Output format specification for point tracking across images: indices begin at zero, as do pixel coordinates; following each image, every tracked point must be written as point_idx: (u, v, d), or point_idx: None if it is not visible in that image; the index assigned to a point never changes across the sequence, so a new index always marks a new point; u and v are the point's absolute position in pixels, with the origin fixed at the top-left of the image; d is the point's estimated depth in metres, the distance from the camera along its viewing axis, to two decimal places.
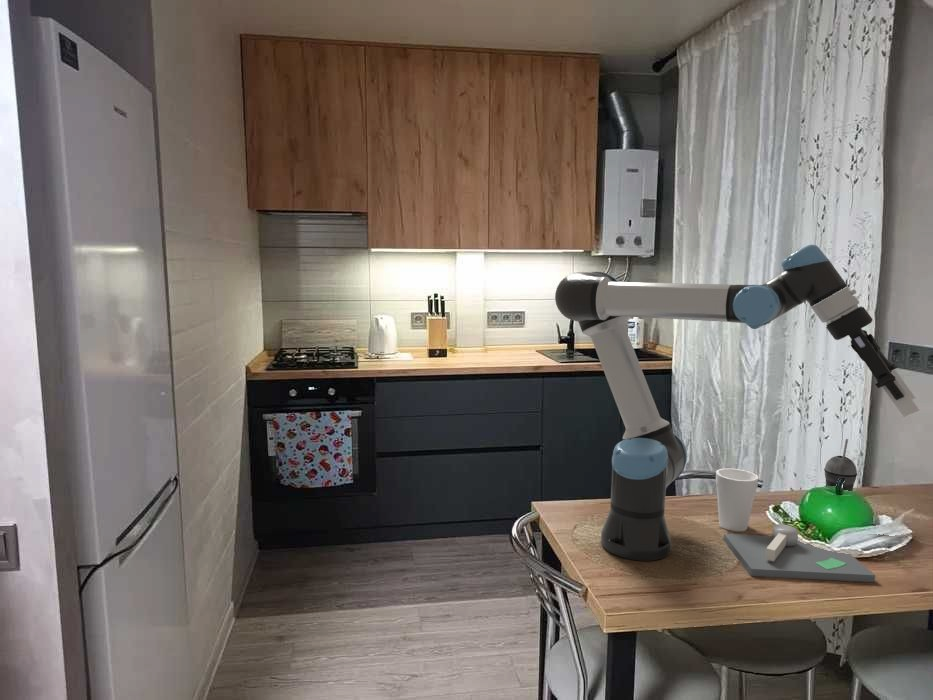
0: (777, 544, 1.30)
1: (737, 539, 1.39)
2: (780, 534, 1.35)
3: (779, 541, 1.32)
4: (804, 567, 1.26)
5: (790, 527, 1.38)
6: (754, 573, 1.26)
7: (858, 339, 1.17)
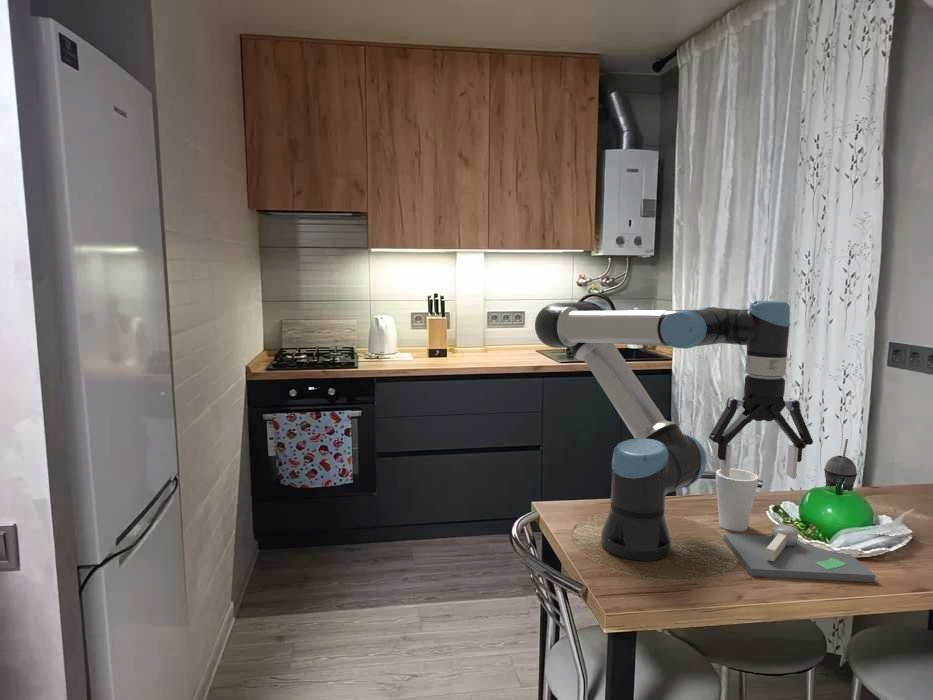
0: (777, 544, 1.30)
1: (737, 539, 1.39)
2: (780, 534, 1.35)
3: (779, 541, 1.32)
4: (804, 567, 1.26)
5: (790, 527, 1.38)
6: (754, 573, 1.26)
7: (729, 400, 1.28)
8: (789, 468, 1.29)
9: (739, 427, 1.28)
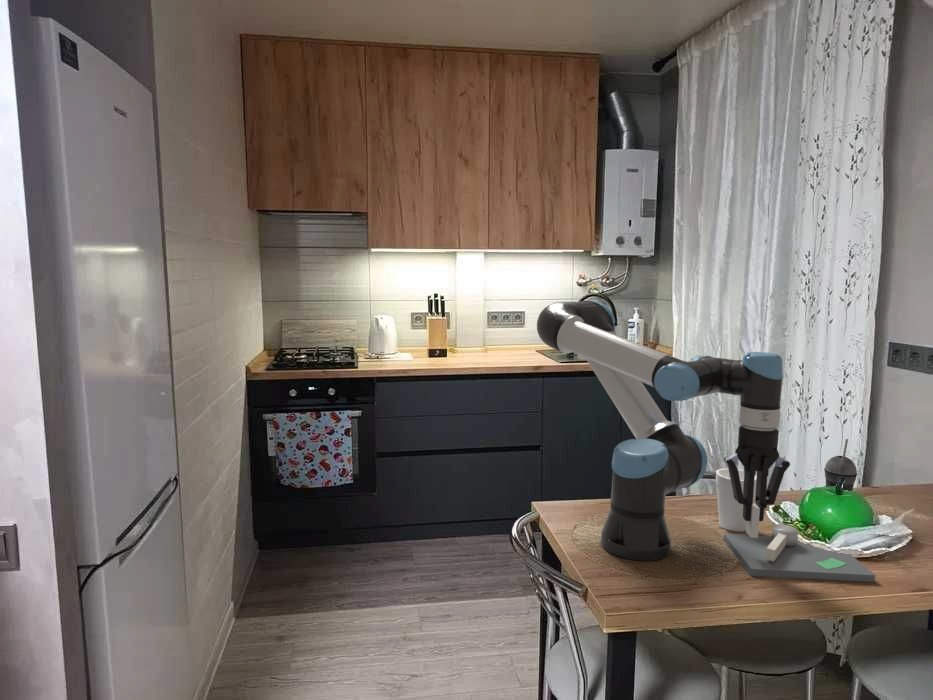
0: (777, 544, 1.30)
1: (737, 539, 1.39)
2: (780, 534, 1.35)
3: (779, 541, 1.32)
4: (804, 567, 1.26)
5: (790, 527, 1.38)
6: (754, 573, 1.26)
7: (726, 462, 1.30)
8: None
9: (750, 484, 1.29)
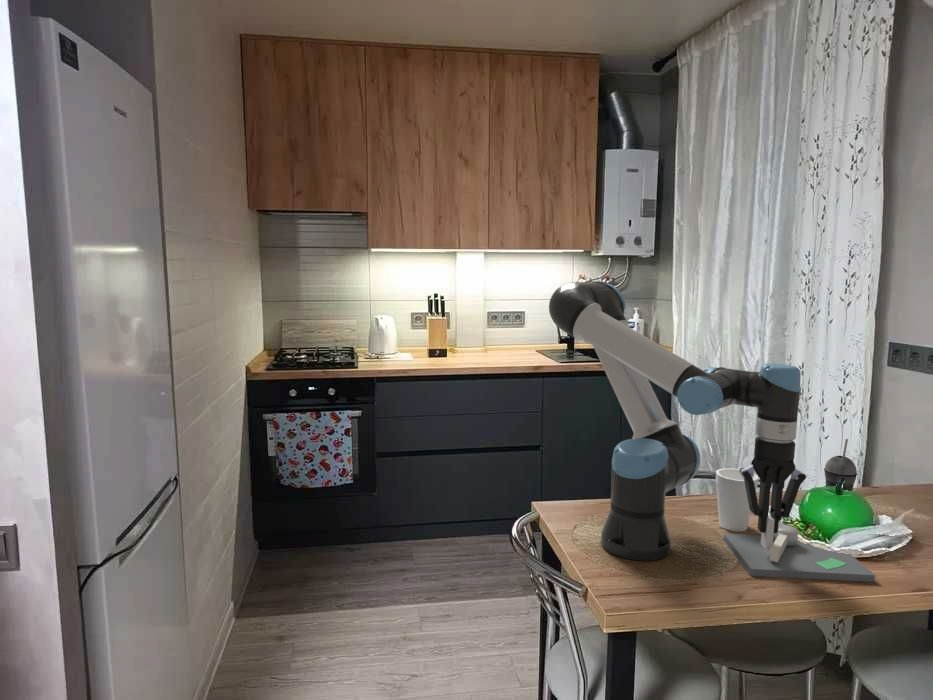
0: (780, 545, 1.30)
1: (737, 539, 1.39)
2: (781, 534, 1.35)
3: (781, 541, 1.32)
4: (804, 567, 1.26)
5: (790, 527, 1.38)
6: (754, 573, 1.26)
7: (741, 473, 1.30)
8: None
9: (766, 496, 1.29)
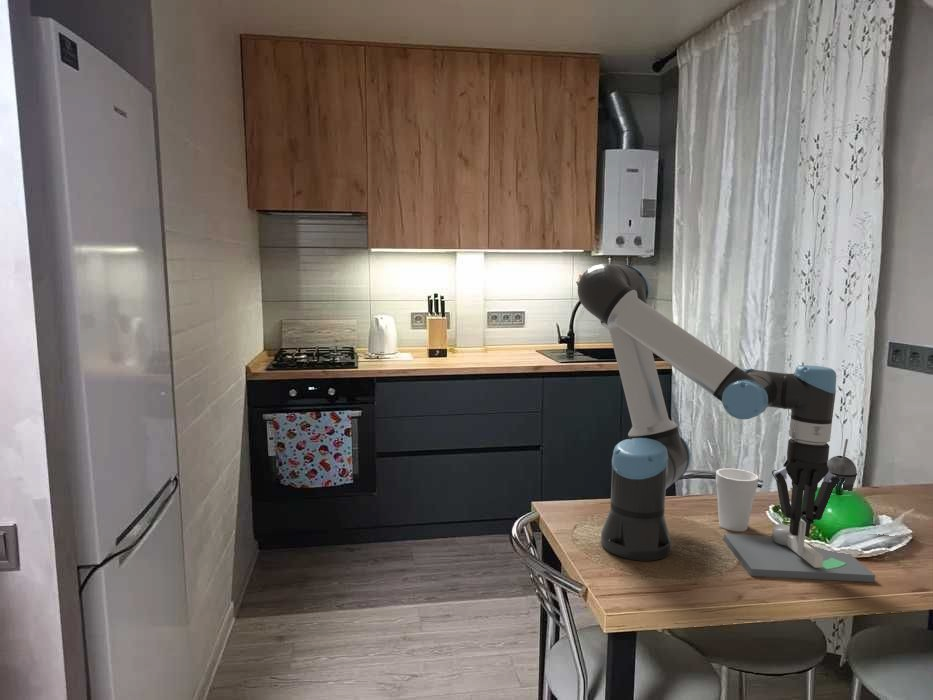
0: (811, 548, 1.29)
1: (737, 539, 1.39)
2: (791, 536, 1.34)
3: (806, 544, 1.30)
4: (804, 567, 1.26)
5: (784, 525, 1.39)
6: (754, 573, 1.26)
7: (774, 475, 1.29)
8: None
9: (799, 498, 1.28)
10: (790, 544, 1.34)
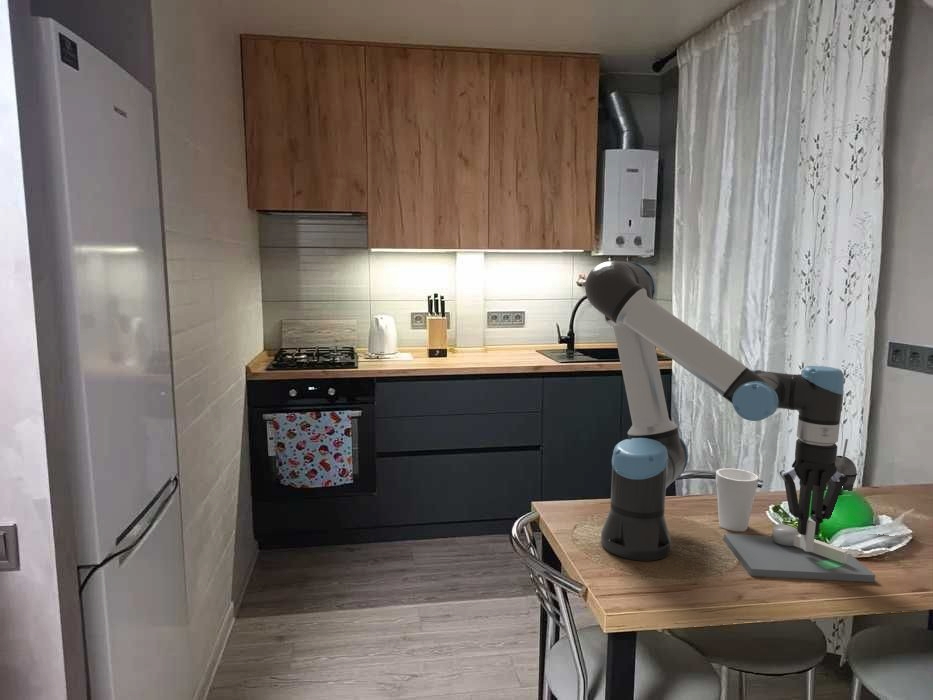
0: (829, 544, 1.31)
1: (737, 539, 1.39)
2: (798, 535, 1.35)
3: (819, 541, 1.32)
4: (804, 567, 1.26)
5: (780, 525, 1.39)
6: (754, 573, 1.26)
7: (782, 476, 1.30)
8: None
9: (807, 498, 1.29)
10: (799, 544, 1.34)
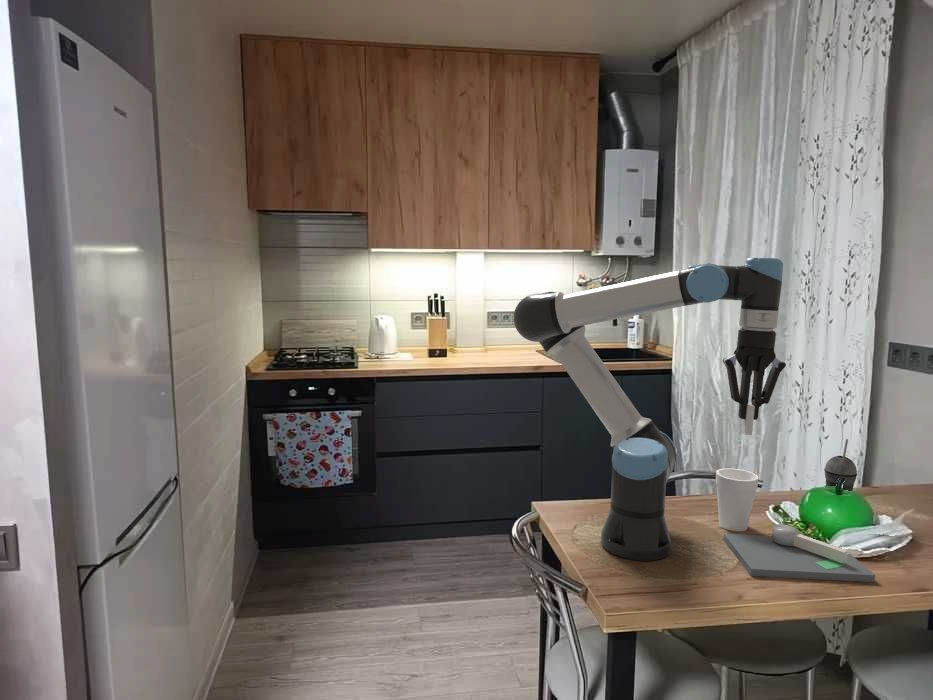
0: (829, 544, 1.31)
1: (737, 539, 1.39)
2: (798, 535, 1.35)
3: (819, 541, 1.32)
4: (804, 567, 1.26)
5: (780, 525, 1.39)
6: (754, 573, 1.26)
7: (724, 362, 1.37)
8: None
9: (747, 383, 1.36)
10: (799, 544, 1.34)
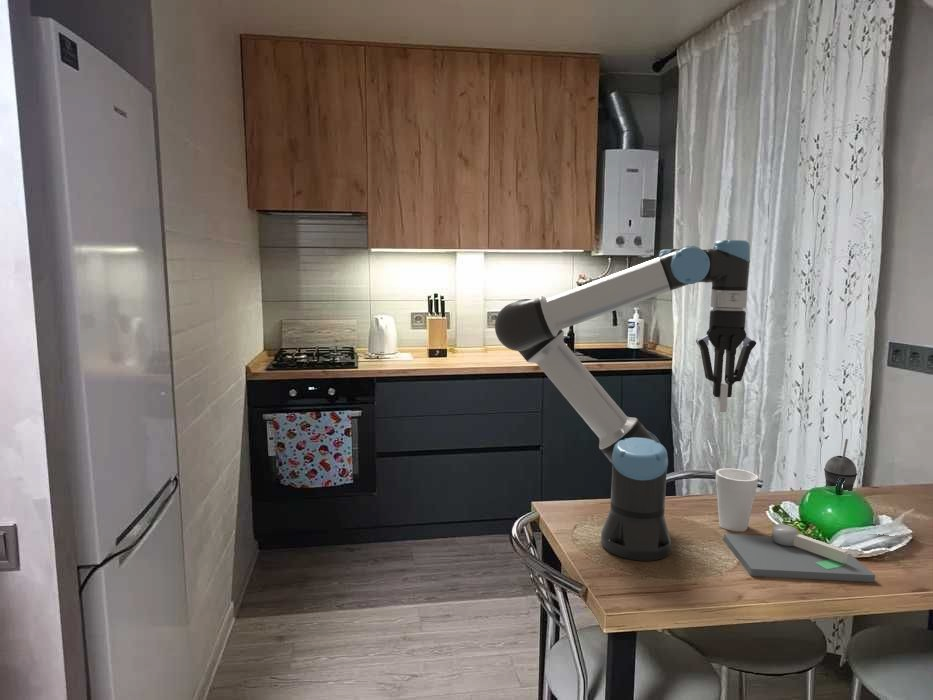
0: (829, 544, 1.31)
1: (737, 539, 1.39)
2: (798, 535, 1.35)
3: (819, 541, 1.32)
4: (804, 567, 1.26)
5: (780, 525, 1.39)
6: (754, 573, 1.26)
7: (697, 342, 1.42)
8: None
9: (720, 362, 1.41)
10: (799, 544, 1.34)
